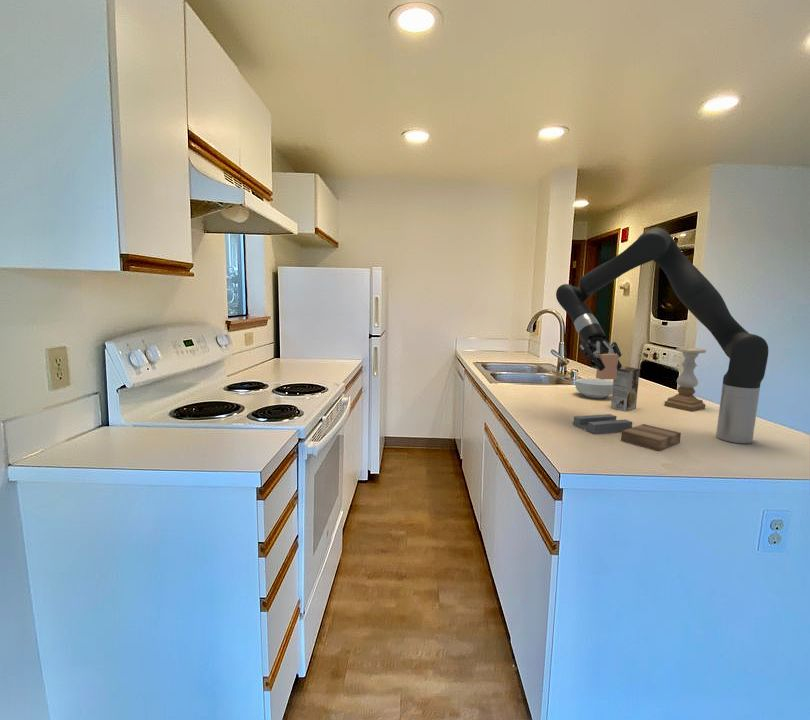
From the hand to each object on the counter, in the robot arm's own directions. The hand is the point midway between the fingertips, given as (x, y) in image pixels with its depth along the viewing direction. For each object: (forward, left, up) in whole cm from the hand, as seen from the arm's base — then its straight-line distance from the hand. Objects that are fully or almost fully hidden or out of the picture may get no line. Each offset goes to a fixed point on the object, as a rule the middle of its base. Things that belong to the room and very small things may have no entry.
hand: (611, 368), depth 143 cm
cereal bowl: (-45, -30, -21) cm, 57 cm away
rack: (-1, -2, -20) cm, 20 cm away
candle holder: (-59, +1, -20) cm, 62 cm away
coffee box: (-35, -12, -21) cm, 42 cm away
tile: (-1, -2, -3) cm, 4 cm away
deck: (0, +14, -20) cm, 25 cm away
